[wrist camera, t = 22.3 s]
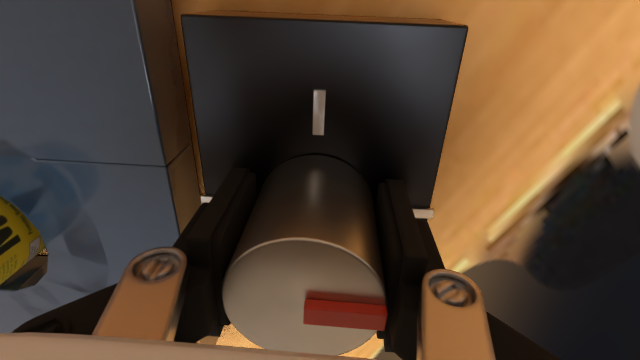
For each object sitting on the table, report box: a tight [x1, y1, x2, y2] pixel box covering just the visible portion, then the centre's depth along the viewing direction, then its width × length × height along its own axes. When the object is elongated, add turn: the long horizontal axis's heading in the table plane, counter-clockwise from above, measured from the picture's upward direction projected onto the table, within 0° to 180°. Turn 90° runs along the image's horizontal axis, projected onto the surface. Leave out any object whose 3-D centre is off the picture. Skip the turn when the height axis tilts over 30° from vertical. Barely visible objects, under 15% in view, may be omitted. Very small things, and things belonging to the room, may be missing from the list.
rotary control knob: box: [221, 155, 388, 356], centre depth 10 cm, size 4×4×5 cm
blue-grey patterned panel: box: [0, 0, 218, 345], centre depth 15 cm, size 18×16×2 cm
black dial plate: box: [181, 10, 468, 220], centre depth 14 cm, size 12×8×3 cm
